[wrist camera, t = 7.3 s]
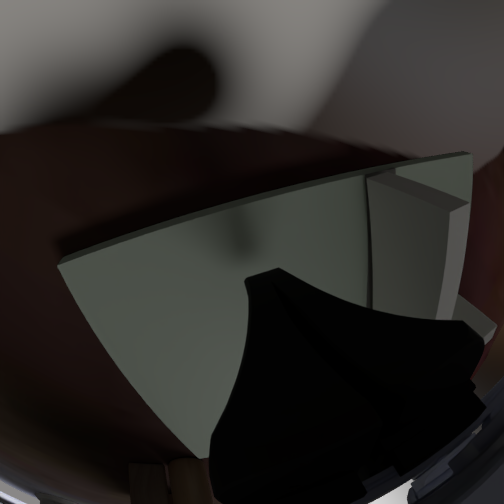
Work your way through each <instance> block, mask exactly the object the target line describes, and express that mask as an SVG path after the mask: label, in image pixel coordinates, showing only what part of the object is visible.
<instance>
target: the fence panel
mask: <svg viewBox="0 0 504 504" xmlns="http://www.w3.org/2000/svg"><path fill="white" fill-rule="evenodd" d="M366 179H367V188H368V198H369V209H370V223H371V239H372V264H373V309H374V310H377V311H382V312H386V313H391V314H395V315H401V316H407V317H414V318H422V319H432V320H451V319H452V315H453V311H454V307H455V303H456V299H457V294H458V290H459V285H460V280H461V275H462V269H463V263H464V257H465V250H466V242H467V234H468V224H469V212H470V203H469V202H467V201H465V200H462V199H460V198H458V197H455V196H453V195H450V194H448V193H445V192H443V191H440V190H437V189H435V188H432V187H430V186H427V185H424V184H421V183H419V182H416V181H413V180H410V179H407V178H404V177H401V176H398V175H395V174H392V173H389V172H386V173H383V174H379V175H376V176H372V177H369V178H366Z"/></svg>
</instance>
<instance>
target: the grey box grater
mask: <svg viewBox="0 0 504 504" xmlns="http://www.w3.org/2000/svg"><path fill="white" fill-rule="evenodd" d="M35 495H36V497H37V498H38V499H39V500H40V504H77V503H75V502H72V501H69V500H66V499H63V498H59V497H56V496H52V495H48V494H44V493H35Z"/></svg>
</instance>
